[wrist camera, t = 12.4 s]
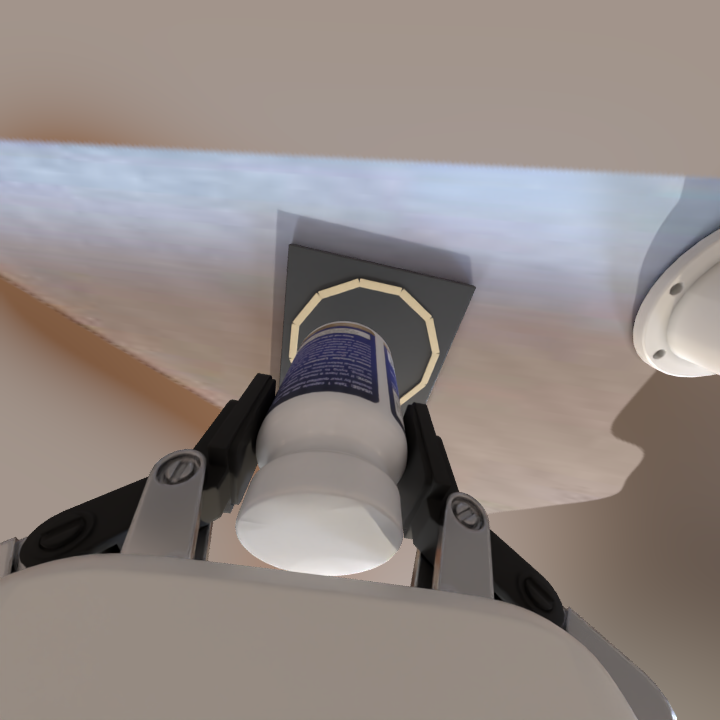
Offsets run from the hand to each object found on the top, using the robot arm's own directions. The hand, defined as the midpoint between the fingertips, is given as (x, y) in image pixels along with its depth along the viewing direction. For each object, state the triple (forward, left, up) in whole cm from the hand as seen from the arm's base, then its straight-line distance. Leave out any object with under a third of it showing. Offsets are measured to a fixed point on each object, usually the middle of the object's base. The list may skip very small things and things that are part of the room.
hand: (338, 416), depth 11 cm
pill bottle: (0, 0, -5) cm, 5 cm away
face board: (-2, +2, -11) cm, 12 cm away
